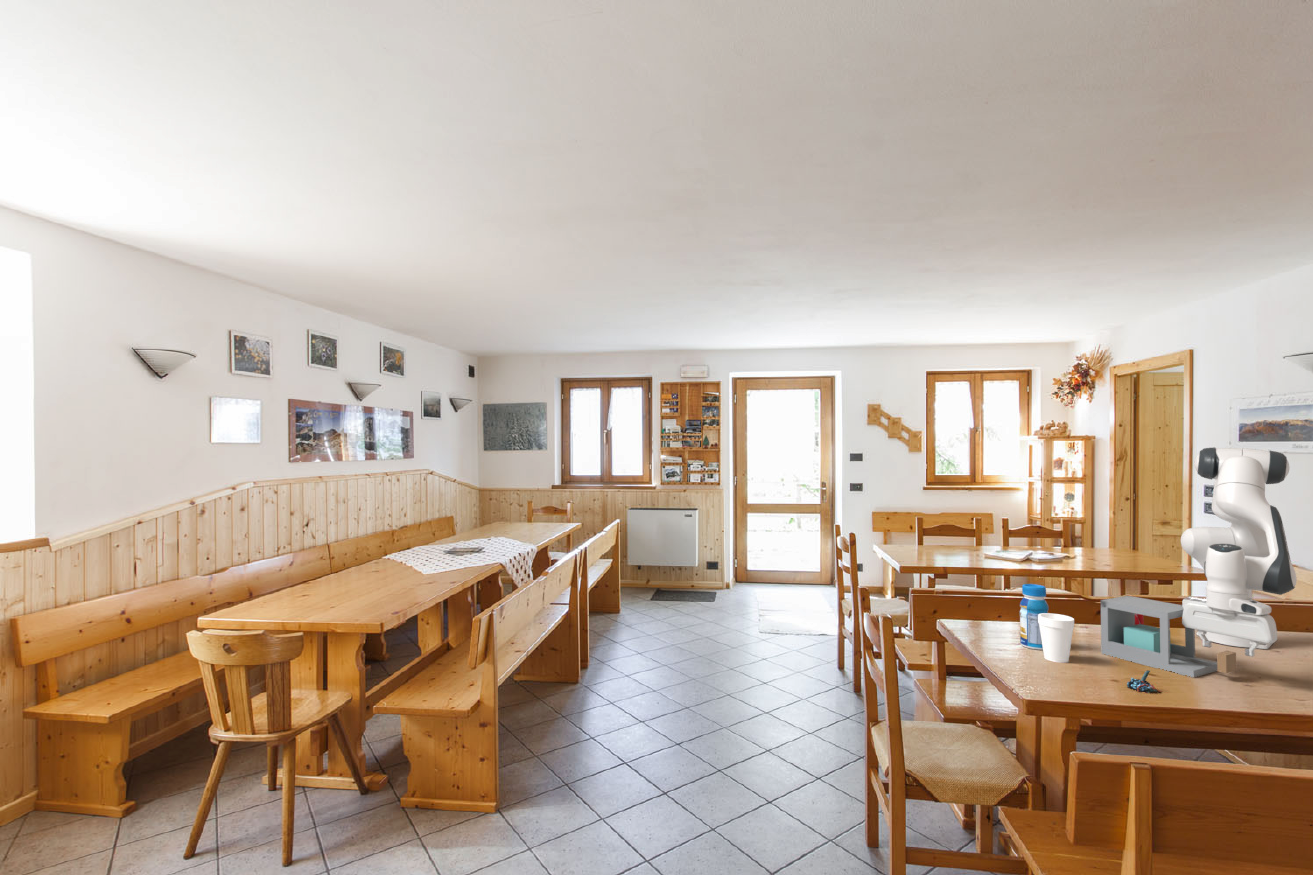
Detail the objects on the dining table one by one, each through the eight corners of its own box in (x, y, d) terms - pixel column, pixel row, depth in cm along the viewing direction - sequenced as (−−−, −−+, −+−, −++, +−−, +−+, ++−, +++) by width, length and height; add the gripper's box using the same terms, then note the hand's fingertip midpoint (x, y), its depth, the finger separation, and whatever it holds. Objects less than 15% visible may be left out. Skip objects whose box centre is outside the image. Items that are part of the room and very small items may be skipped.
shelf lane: (1128, 647, 205) (1127, 595, 206) (1220, 669, 184) (1219, 611, 184) (1101, 653, 198) (1100, 600, 198) (1193, 677, 176) (1192, 617, 177)
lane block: (1140, 645, 199) (1140, 623, 199) (1239, 669, 177) (1238, 644, 178) (1124, 649, 195) (1123, 627, 195) (1223, 674, 173) (1222, 649, 173)
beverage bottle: (1039, 651, 199) (1039, 589, 200) (1014, 644, 206) (1013, 584, 207) (1055, 648, 203) (1054, 586, 203) (1029, 641, 210) (1029, 582, 211)
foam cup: (1071, 657, 194) (1071, 615, 194) (1077, 666, 185) (1077, 622, 186) (1036, 652, 198) (1036, 611, 198) (1040, 661, 189) (1040, 618, 190)
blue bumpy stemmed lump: (1132, 673, 173) (1148, 665, 167) (1156, 696, 169) (1174, 689, 163) (1113, 689, 171) (1129, 682, 165) (1138, 713, 167) (1155, 706, 161)
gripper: (1177, 595, 184) (1178, 642, 183) (1269, 610, 166) (1270, 662, 165) (1187, 594, 187) (1188, 640, 186) (1279, 608, 169) (1280, 659, 168)
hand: (1227, 651), depth 176 cm, fingers open, 8 cm apart
